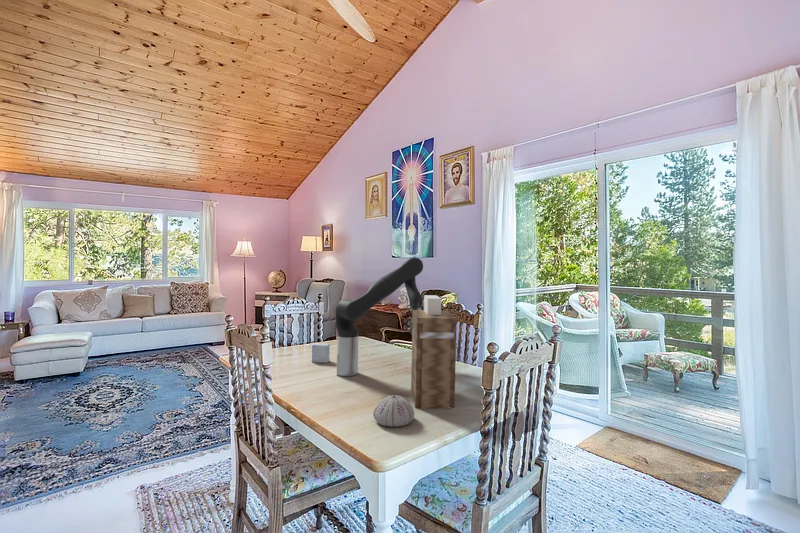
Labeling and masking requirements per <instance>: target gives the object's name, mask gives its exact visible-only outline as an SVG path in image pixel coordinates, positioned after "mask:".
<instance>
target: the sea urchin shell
mask: <svg viewBox="0 0 800 533" xmlns="http://www.w3.org/2000/svg"><path fill="white" fill-rule="evenodd" d="M413 407H414V406H412V404H411V403H410V401H408V400H407V398H405V397H403V396H401V395H395V394H394V395H393V394H391V395H387V396H385V398H383V399H381V400H380V401H379V402H378V403H377V404H376V406H375V408H374V409H373V412H372V413H373V419H374V420H375V421H376V422H377V424H379V425H381V426H384V427H386V426H387V427H391V428H392V427H395V428H396V427H400V426H401V427H403V426H406V425H409V424H410V423H412V421H413V420H414V418H415V410H414V408H413Z"/></svg>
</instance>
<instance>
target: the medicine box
mask: <svg viewBox="0 0 800 533" xmlns="http://www.w3.org/2000/svg"><path fill="white" fill-rule="evenodd" d="M330 345H331V344H330V343H317V342H316V343H313V344H312V345H311V363H319V364H320V363H322V364H326V363H327V364H328V362H330Z"/></svg>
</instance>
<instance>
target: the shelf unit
mask: <svg viewBox="0 0 800 533" xmlns="http://www.w3.org/2000/svg"><path fill="white" fill-rule="evenodd" d="M412 322H413V325H412V335H411V375H410V376H411V382H410V391H411V396H412V399H413V400H412V401H413V404H414V408H417V409H419V408H420V409H421V410H424V409H425V410H436V409H437V410H439V409H440V410H441V409H442V410H446V409H447V410H449V409H451V408H452V409H454V408H455V401H456V356H457V353H456V352H457V324H458V318H457V316H455V315H453V313H451V312H450V311H449V310H446V309H445V310H443V309H442V310H441V315H427V313H426V312H425V311H424V310H413V317H412Z"/></svg>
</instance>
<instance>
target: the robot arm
mask: <svg viewBox="0 0 800 533" xmlns="http://www.w3.org/2000/svg"><path fill="white" fill-rule="evenodd" d="M423 269H424V263H423V260H422V259H420V258H419V257H411V258H408V259H407V260H406V261H404V262H403V263H402V264H401V266H400V267H398V268H397V269H394V270H393V271H390V272H389V273H386V274H385V275H383V276H382V277H380V278H378V279H377V280H375V281H374V282H373V283H372V284H371V285H370V286H369V288H368V290H367V291H366V292H365V294H363V295H362V296H359V297H358V298H356V299H353V300H352V299H347V298H346V299H341V300H340V301H339V302H338V303H337V305H336V309H335V326H336V328H335V329H336V331H337V353H336V376H342V377H353V376H357V375H358V374H359V335H360V334H359V333H360V332H359V329H358V327H356V325H355V323H354V322H356V321H358V320H359V319H361V318H362V317H363V316H364V315H365V314H366V313H368V312H369V311H370V310H371V309H372V308H373V307H375V306H376V305H378V304H379V303H380V302H382V301H383V300H385V299H387V298H388V297H389V296H390V295H392V294H393V293H394V292H396V290H398V289H399V288H400V287H401V286H402V285H404V287H405V291H406V292H407V293H406V294H407V297H408V301H409V302H408V303H409V309H410V315H411V317H412V318H413V310H424V308H423V300H424V297H423V296H422V295H421V292H420V291H419V290H418V287H417V283H416V277H417V276H419V275H420V274H421V273H422V271H423ZM441 310H443V309H442V307H441ZM412 325H413V321H412V322H411V323H410V326H409V333H410V335H411V336H412Z"/></svg>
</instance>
